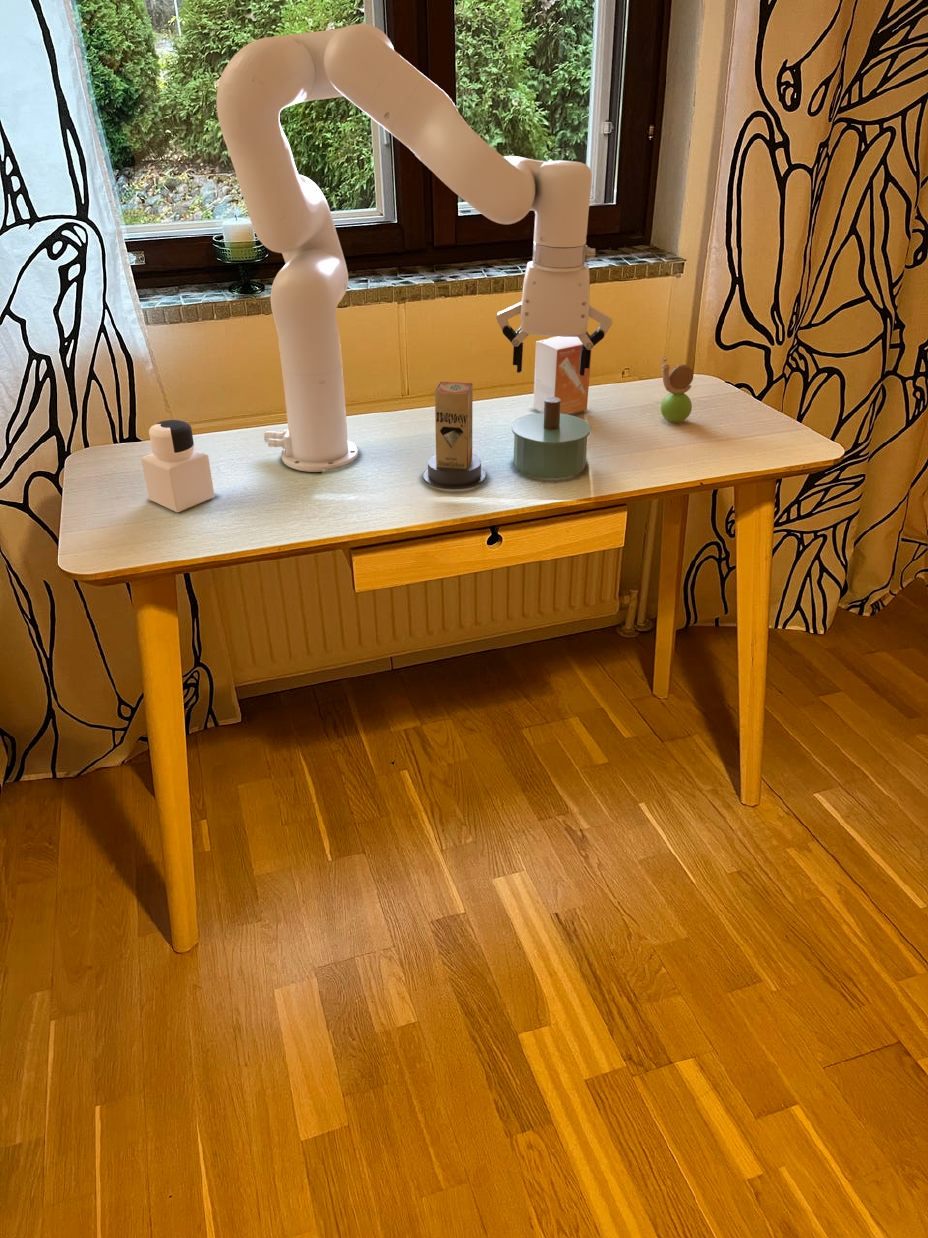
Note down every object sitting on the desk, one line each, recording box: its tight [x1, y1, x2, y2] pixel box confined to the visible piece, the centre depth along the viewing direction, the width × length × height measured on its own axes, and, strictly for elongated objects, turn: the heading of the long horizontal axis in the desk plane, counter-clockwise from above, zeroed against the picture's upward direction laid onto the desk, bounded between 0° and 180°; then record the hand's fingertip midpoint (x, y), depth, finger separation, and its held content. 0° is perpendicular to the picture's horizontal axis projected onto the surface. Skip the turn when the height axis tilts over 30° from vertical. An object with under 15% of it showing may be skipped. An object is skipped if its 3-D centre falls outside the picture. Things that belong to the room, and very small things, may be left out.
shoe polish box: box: [434, 381, 473, 469], centre depth 149 cm, size 5×5×12 cm
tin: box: [513, 434, 588, 479], centre depth 157 cm, size 12×12×6 cm
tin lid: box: [511, 397, 592, 445], centre depth 154 cm, size 13×13×6 cm
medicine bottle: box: [141, 419, 215, 513], centre depth 145 cm, size 7×7×12 cm
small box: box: [532, 336, 593, 415], centre depth 176 cm, size 8×6×13 cm
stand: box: [422, 453, 487, 491], centre depth 154 cm, size 10×10×3 cm
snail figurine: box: [660, 356, 694, 424], centre depth 171 cm, size 5×6×12 cm
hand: (550, 371), depth 150 cm, fingers open, 9 cm apart
